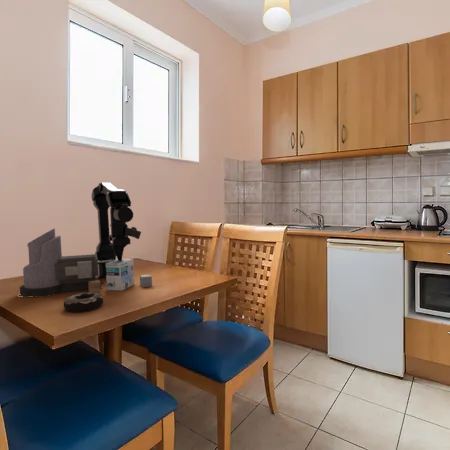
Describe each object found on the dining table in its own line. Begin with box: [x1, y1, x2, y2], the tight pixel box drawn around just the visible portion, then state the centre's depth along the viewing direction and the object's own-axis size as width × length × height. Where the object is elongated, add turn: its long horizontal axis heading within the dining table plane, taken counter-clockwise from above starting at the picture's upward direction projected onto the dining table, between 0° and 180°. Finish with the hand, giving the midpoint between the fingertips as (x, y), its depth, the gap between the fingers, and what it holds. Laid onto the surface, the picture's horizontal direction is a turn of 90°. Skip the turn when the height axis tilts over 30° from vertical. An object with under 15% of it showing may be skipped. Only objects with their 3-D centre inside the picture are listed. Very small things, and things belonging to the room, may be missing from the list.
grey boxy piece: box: [19, 228, 103, 298], centre depth 126 cm, size 30×16×24 cm, turn 111°
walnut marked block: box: [88, 279, 101, 294], centre depth 122 cm, size 4×4×4 cm
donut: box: [63, 291, 104, 313], centre depth 103 cm, size 12×12×4 cm
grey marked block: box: [139, 274, 153, 288], centre depth 130 cm, size 4×4×4 cm
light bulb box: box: [105, 258, 135, 292], centre depth 128 cm, size 11×7×11 cm, turn 169°
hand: (120, 260), depth 128 cm, fingers closed, pressing on light bulb box
